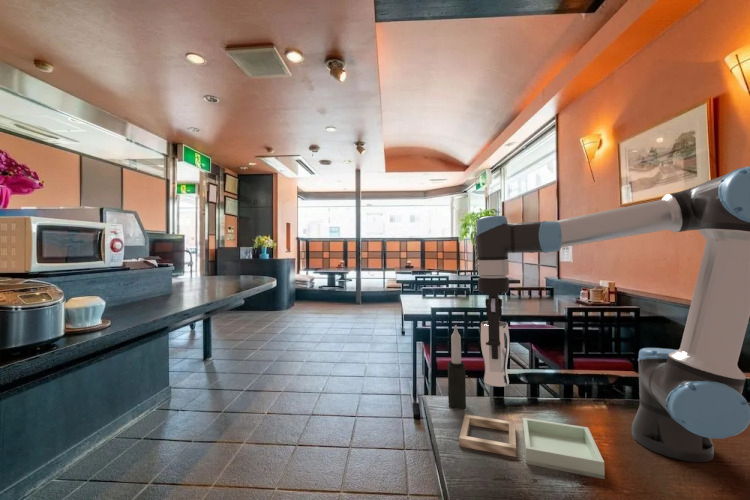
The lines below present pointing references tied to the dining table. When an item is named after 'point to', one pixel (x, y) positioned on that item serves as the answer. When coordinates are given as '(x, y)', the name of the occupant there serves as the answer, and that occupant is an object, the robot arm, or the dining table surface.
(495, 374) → the beer glass
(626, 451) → the dining table surface
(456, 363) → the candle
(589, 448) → the tray
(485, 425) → the light wood square frame
